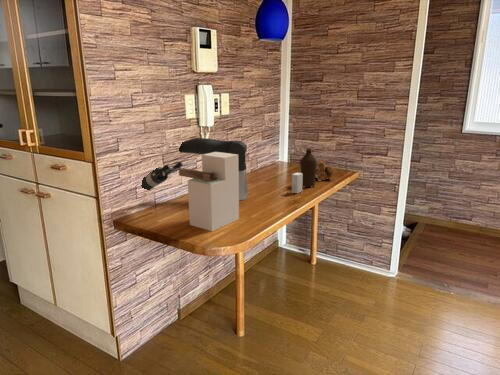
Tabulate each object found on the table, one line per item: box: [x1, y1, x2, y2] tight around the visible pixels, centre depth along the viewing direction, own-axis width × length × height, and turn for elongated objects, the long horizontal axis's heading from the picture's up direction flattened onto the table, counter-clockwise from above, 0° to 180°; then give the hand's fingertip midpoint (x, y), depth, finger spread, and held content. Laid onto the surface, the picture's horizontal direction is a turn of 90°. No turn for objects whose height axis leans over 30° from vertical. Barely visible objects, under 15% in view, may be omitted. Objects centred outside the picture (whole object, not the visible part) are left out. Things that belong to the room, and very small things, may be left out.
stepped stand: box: [187, 152, 240, 232], centre depth 174 cm, size 20×14×32 cm
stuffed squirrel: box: [315, 160, 335, 180], centre depth 256 cm, size 10×14×13 cm
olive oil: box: [299, 147, 318, 188], centre depth 238 cm, size 11×11×25 cm
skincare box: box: [291, 172, 303, 194], centre depth 225 cm, size 6×4×12 cm
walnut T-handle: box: [178, 168, 217, 182], centre depth 172 cm, size 6×20×3 cm, turn 54°
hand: (175, 164), depth 179 cm, fingers open, 8 cm apart
